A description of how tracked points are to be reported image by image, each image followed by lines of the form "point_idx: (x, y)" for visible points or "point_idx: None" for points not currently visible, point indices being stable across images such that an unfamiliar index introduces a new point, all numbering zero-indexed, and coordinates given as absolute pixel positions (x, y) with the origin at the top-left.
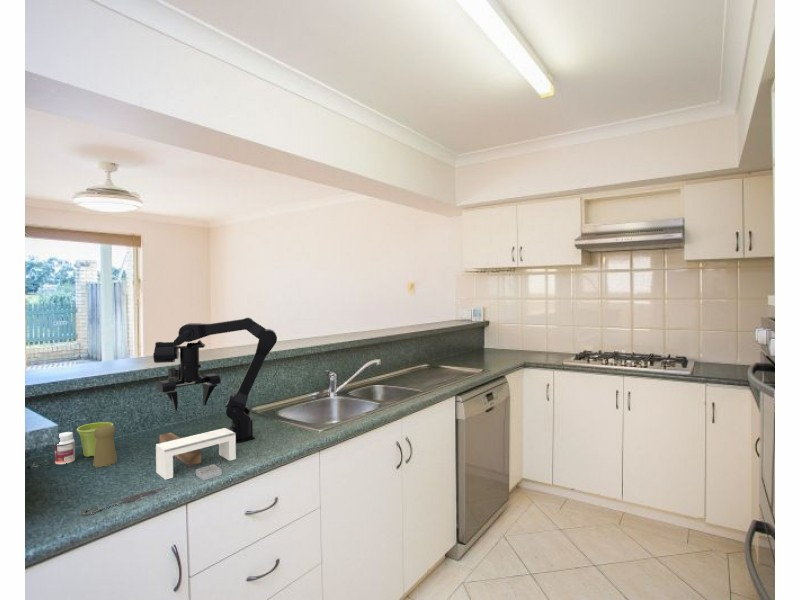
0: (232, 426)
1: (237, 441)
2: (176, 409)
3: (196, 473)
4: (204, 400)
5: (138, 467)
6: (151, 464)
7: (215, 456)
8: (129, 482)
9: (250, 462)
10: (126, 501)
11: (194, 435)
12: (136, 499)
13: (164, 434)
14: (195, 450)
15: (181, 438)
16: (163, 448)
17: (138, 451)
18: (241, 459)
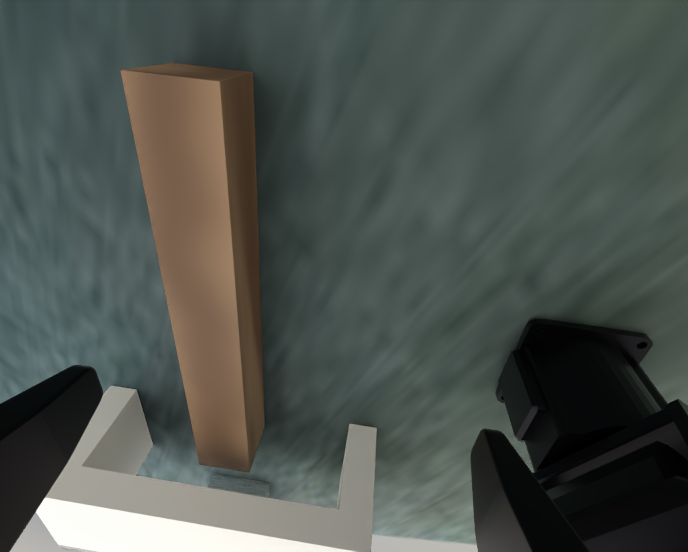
0: (542, 421)
1: (498, 397)
2: (80, 420)
3: (211, 482)
4: (484, 541)
5: (48, 298)
6: (100, 310)
7: (331, 423)
8: (27, 385)
9: (376, 517)
10: None
11: (202, 528)
12: None
13: (160, 96)
14: (231, 461)
15: (139, 516)
16: (56, 535)
17: (33, 53)
18: (374, 491)
